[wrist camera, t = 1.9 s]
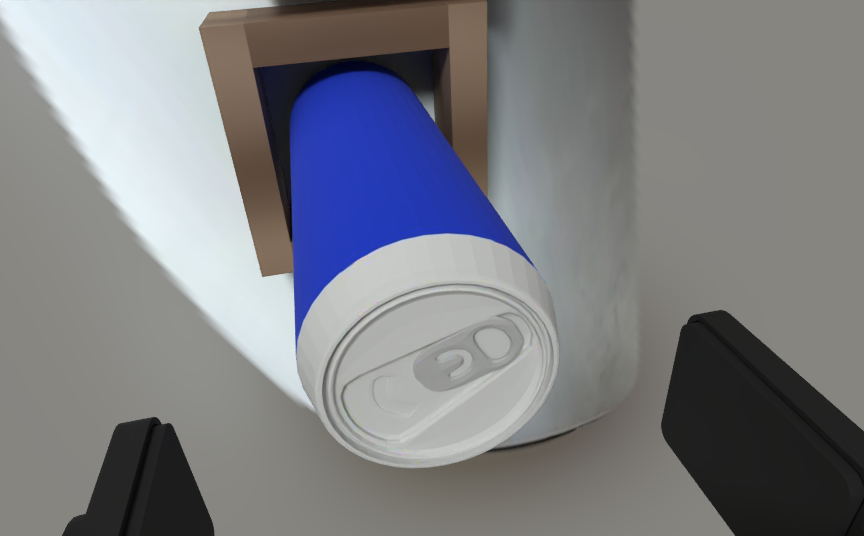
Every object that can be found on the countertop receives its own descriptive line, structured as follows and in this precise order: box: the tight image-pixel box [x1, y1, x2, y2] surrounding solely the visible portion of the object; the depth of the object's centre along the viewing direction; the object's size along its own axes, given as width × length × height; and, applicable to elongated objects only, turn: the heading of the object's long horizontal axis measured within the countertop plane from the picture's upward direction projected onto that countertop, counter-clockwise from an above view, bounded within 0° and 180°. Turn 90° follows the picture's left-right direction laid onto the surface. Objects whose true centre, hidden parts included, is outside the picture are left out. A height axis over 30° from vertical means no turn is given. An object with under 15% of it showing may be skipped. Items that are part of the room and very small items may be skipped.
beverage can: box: [290, 61, 559, 468], centre depth 17 cm, size 5×5×15 cm
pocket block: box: [199, 0, 487, 277], centre depth 22 cm, size 9×9×3 cm
